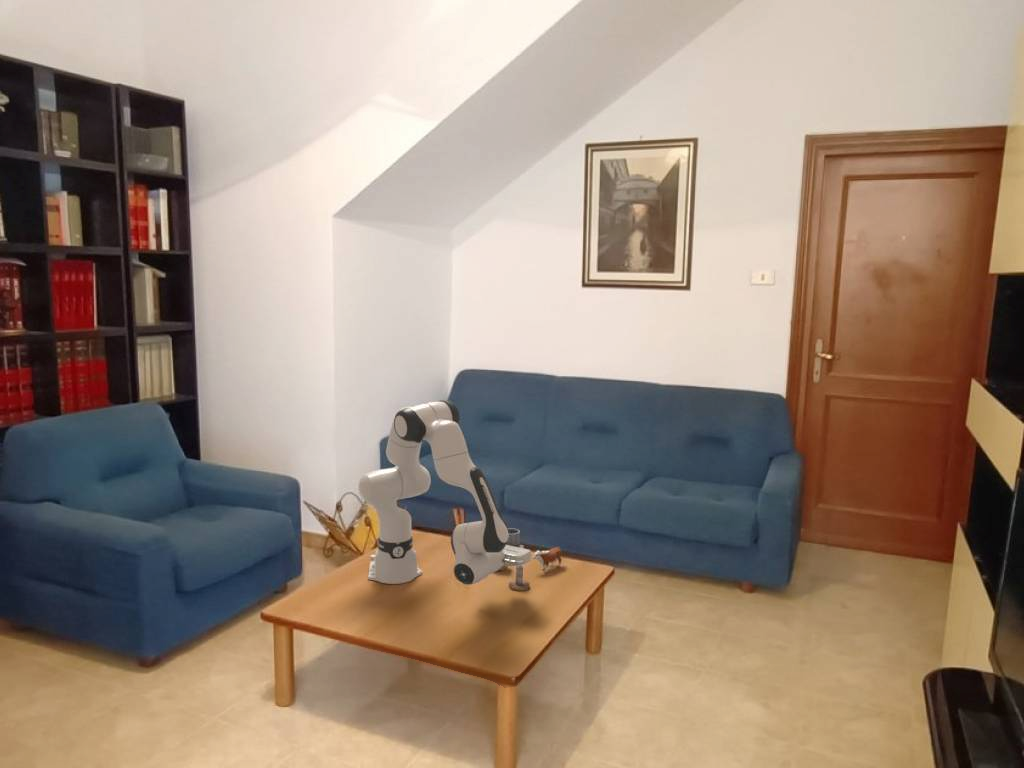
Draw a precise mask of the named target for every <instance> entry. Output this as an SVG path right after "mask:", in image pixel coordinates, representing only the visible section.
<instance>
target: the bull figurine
mask: <svg viewBox="0 0 1024 768" xmlns="http://www.w3.org/2000/svg"><path fill="white" fill-rule="evenodd" d="M561 557H562V549H561V548H560V546H557V547H554V548H551V549H549V550H542V551H540V550H536V551H535V552H534V555H533V556H531V559H533V560H536V561H539V563H540V564H541V566H542V568H541V571H543V573H544V574H547V573H548V568H549V567H550V568H551V567H553V564H554V563H555V562H556V561H558V566H557V567H558V568H561V565H562V564H561V563H562V558H561Z"/></svg>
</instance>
